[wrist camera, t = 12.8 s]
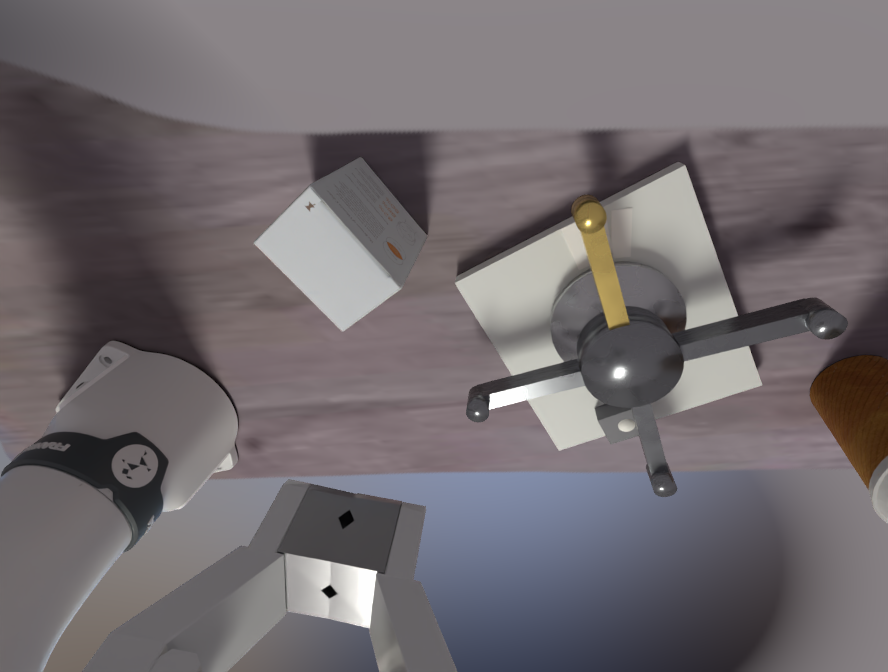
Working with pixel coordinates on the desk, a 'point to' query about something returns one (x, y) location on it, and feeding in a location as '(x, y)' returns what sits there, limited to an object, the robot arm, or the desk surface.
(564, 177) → the desk surface
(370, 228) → the small box
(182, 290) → the desk surface
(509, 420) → the desk surface
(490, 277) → the stand
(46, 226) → the desk surface
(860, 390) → the disposable coffee cup
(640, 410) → the capstan
